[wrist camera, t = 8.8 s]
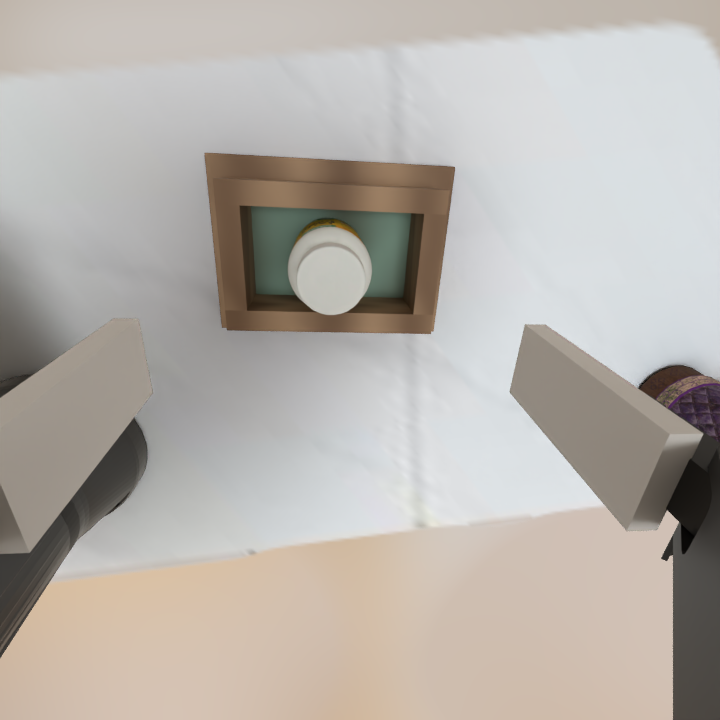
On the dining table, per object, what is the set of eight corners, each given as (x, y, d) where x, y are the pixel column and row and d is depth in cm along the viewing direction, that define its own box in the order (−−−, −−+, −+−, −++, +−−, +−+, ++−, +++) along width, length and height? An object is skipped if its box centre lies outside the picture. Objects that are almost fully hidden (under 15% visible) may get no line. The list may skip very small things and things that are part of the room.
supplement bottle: (324, 299, 33) (323, 344, 24) (279, 246, 31) (262, 275, 22) (376, 258, 32) (396, 290, 23) (334, 200, 30) (338, 212, 21)
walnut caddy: (224, 323, 35) (207, 349, 30) (208, 153, 29) (184, 149, 24) (430, 327, 36) (447, 352, 31) (451, 167, 31) (475, 166, 26)
